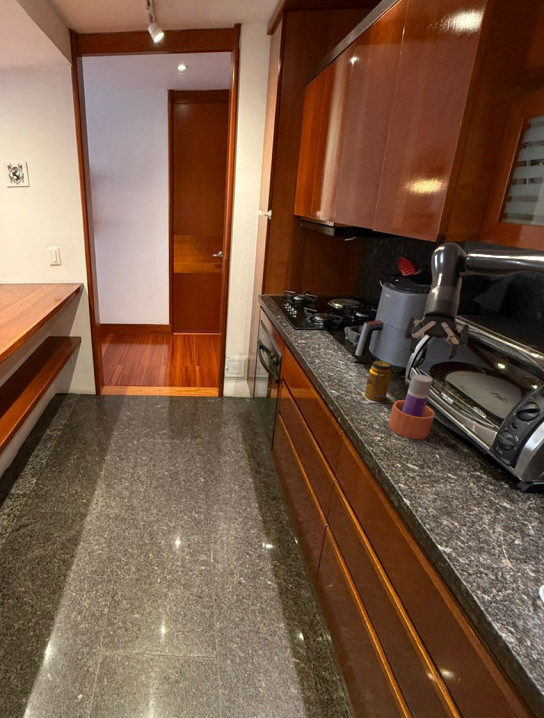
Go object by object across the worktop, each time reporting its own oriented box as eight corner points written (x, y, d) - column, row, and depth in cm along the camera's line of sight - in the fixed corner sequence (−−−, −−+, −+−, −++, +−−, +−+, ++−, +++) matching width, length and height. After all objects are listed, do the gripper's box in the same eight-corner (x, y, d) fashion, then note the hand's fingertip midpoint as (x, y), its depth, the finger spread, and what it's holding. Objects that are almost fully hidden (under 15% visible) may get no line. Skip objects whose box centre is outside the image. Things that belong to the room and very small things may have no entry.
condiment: (359, 392, 128) (366, 358, 123) (386, 392, 127) (394, 359, 122) (368, 403, 121) (376, 368, 116) (396, 404, 120) (405, 369, 116)
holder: (423, 423, 110) (429, 403, 108) (433, 442, 102) (439, 421, 99) (385, 417, 113) (390, 398, 111) (392, 435, 105) (397, 414, 102)
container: (420, 432, 105) (435, 383, 99) (401, 429, 106) (414, 380, 100) (416, 423, 109) (430, 375, 103) (397, 420, 110) (410, 373, 104)
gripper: (414, 295, 111) (402, 344, 106) (476, 301, 104) (467, 354, 99) (410, 308, 117) (399, 355, 112) (469, 315, 110) (460, 366, 105)
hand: (431, 355), depth 106 cm, fingers open, 8 cm apart
